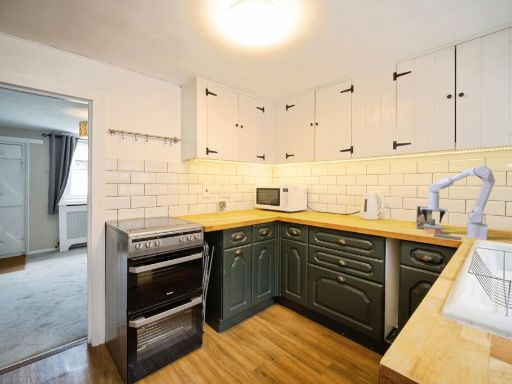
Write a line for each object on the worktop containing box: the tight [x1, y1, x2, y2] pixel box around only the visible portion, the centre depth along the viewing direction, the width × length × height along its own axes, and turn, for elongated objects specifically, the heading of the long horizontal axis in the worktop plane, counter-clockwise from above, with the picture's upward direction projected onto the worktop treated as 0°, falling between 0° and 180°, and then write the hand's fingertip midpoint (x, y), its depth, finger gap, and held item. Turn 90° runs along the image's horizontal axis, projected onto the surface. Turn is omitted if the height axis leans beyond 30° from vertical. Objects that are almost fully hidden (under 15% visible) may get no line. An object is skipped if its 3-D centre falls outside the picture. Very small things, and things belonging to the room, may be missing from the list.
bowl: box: [423, 227, 442, 235], centre depth 165 cm, size 9×9×4 cm
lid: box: [423, 218, 444, 229], centre depth 165 cm, size 10×10×5 cm
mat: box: [432, 234, 462, 241], centre depth 151 cm, size 13×12×1 cm
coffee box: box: [415, 206, 433, 230], centre depth 181 cm, size 9×6×16 cm
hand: (432, 222), depth 165 cm, fingers open, 7 cm apart
